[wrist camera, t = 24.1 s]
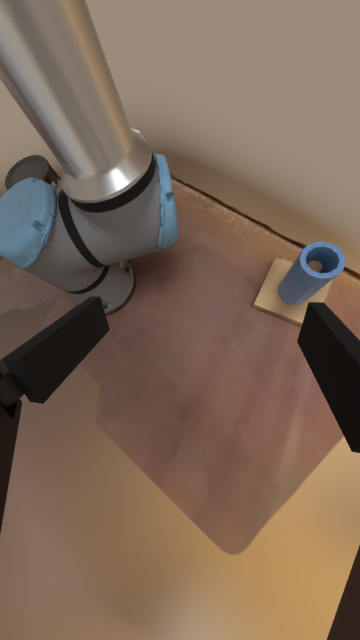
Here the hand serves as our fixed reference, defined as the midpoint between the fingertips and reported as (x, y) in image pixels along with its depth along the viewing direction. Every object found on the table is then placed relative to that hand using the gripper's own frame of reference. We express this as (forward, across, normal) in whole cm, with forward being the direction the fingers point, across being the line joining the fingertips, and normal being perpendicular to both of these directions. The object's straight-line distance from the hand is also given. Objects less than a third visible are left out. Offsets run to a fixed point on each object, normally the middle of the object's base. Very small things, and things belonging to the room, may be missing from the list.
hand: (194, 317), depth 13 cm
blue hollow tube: (+28, +15, -9) cm, 33 cm away
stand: (+29, +15, -10) cm, 34 cm away
